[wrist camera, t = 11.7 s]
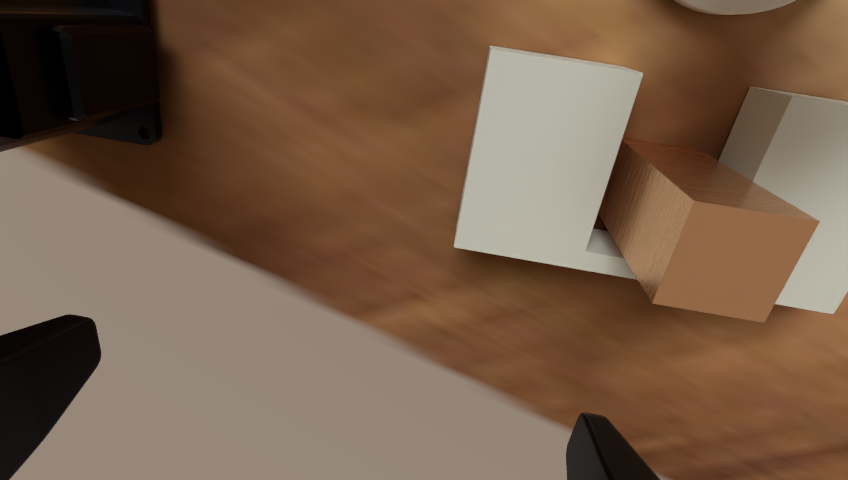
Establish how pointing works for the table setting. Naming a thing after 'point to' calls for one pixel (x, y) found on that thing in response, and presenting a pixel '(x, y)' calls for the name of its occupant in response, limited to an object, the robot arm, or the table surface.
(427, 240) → the table surface
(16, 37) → the robot arm
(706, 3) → the bobbin
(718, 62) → the table surface
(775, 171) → the notched board
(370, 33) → the table surface
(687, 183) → the copper tab
